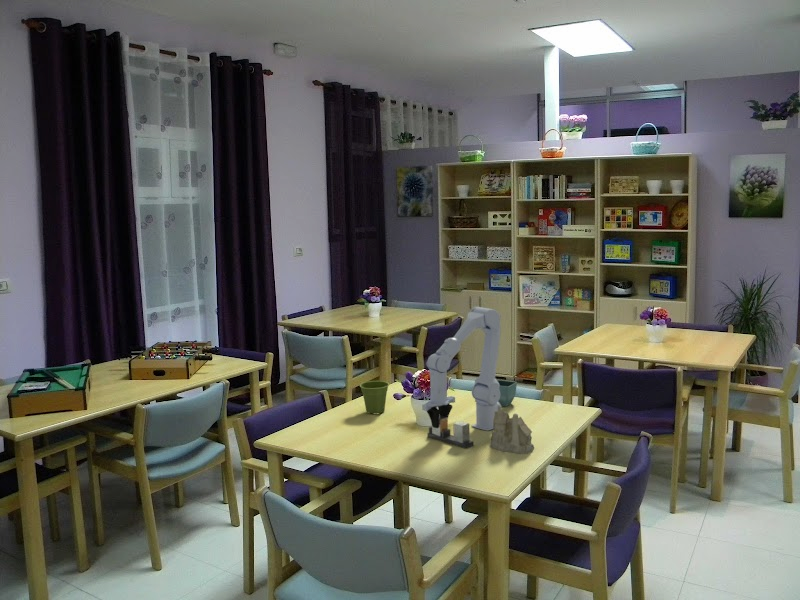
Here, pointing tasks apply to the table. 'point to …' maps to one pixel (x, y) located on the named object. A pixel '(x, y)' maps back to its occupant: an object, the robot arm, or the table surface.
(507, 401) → the flower pot
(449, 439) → the rail
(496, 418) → the ceramic cottage
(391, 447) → the table surface
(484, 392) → the robot arm
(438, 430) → the grey and orange block
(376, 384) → the plant pot
